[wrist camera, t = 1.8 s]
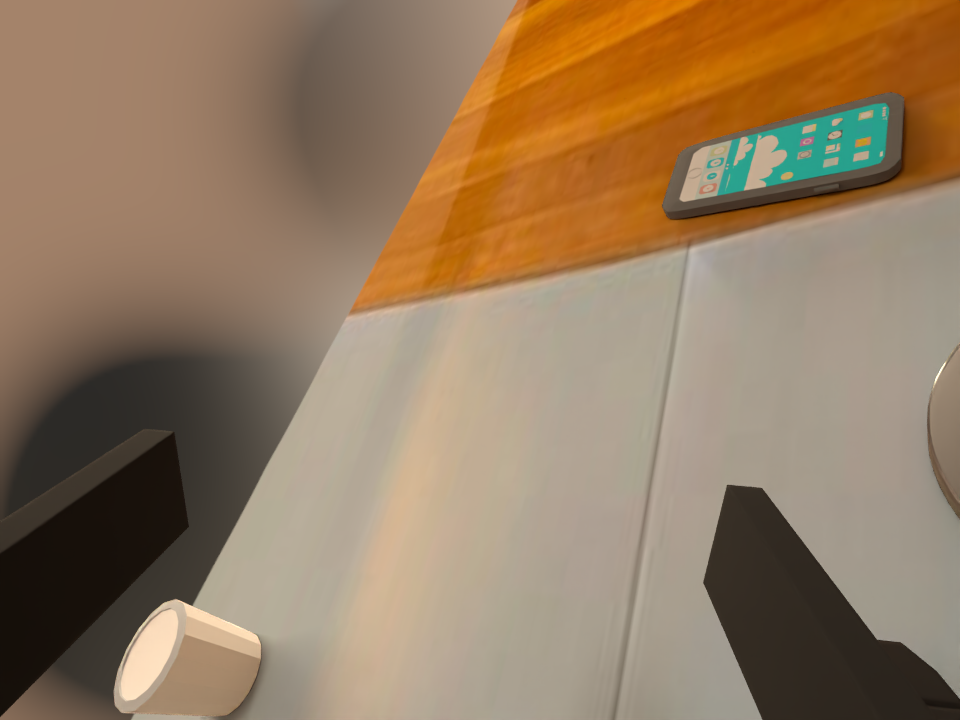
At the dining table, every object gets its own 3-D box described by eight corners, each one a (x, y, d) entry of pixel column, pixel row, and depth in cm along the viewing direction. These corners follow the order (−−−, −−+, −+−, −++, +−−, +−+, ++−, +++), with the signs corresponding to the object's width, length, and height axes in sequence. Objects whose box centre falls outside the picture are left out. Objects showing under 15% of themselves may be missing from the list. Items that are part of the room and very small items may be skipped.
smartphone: (680, 144, 45) (904, 84, 35) (684, 153, 46) (904, 96, 36) (657, 214, 41) (899, 169, 31) (661, 223, 42) (900, 182, 32)
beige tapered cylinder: (221, 748, 36) (124, 737, 32) (191, 694, 41) (103, 677, 37) (280, 649, 38) (197, 625, 34) (245, 608, 43) (168, 583, 39)
